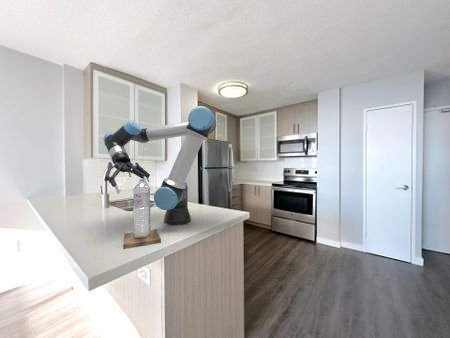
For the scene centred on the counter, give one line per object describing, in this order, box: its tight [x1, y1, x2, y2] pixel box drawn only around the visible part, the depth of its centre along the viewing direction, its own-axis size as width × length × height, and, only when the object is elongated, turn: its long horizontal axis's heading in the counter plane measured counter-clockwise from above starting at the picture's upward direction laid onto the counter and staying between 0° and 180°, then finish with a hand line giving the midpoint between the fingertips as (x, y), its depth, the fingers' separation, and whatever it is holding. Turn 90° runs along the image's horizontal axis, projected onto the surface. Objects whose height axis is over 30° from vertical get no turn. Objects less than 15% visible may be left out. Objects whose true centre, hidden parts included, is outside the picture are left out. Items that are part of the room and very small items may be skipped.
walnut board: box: [122, 228, 162, 250], centre depth 84 cm, size 14×14×2 cm
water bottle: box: [132, 178, 152, 239], centre depth 84 cm, size 7×7×25 cm
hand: (135, 190), depth 86 cm, fingers open, 13 cm apart
